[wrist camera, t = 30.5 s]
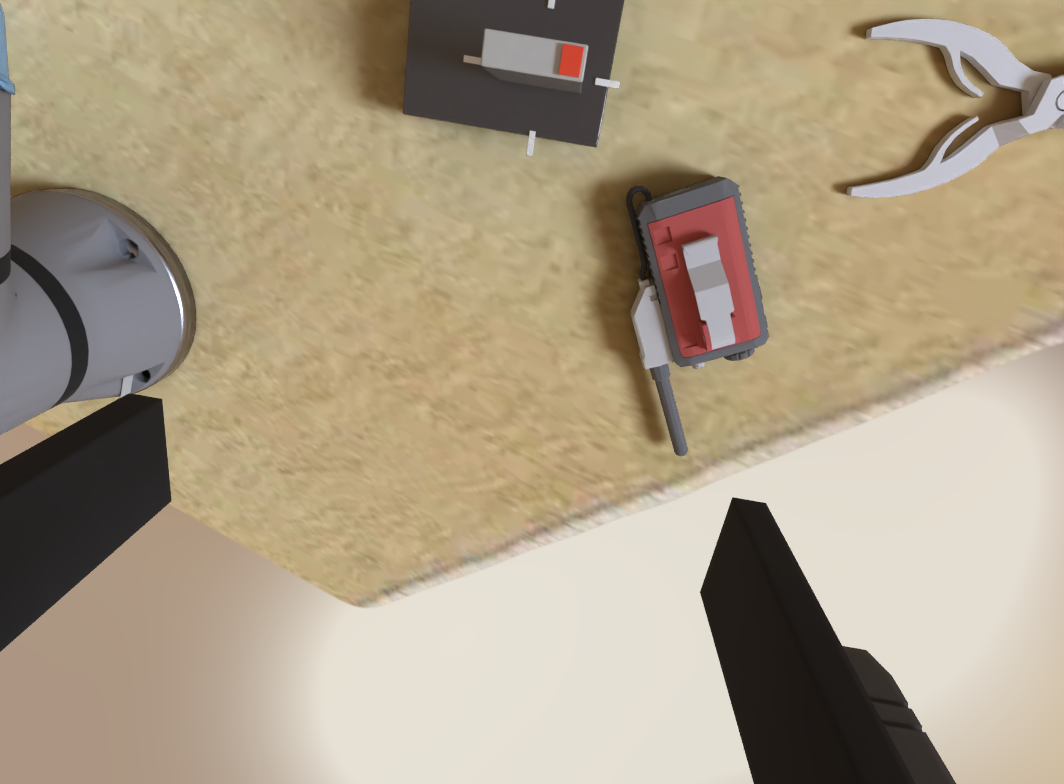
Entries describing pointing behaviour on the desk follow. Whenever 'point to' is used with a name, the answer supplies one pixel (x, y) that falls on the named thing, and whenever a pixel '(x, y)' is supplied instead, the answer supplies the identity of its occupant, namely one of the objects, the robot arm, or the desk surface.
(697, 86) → the desk surface
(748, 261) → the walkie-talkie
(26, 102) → the desk surface
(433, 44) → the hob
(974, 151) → the pliers
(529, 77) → the grey rectangular block
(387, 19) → the desk surface
